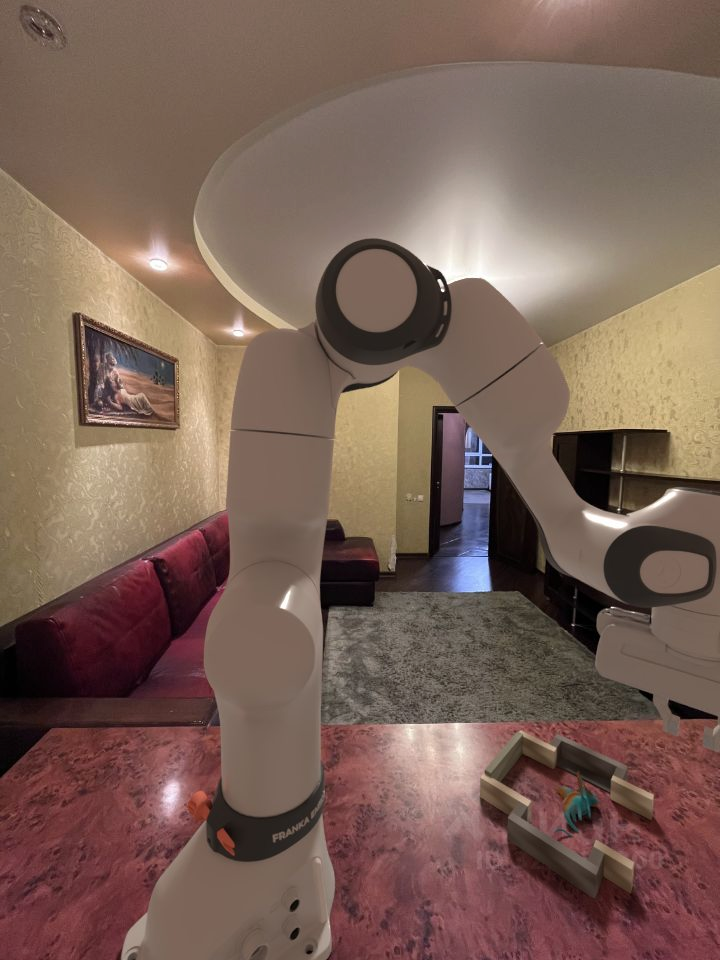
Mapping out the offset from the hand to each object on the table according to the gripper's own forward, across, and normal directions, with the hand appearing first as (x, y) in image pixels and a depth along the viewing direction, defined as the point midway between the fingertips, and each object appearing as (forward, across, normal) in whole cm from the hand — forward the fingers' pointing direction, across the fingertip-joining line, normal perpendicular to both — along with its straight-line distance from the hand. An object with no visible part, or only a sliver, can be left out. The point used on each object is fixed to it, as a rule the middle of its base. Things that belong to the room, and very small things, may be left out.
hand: (690, 739), depth 48 cm
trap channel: (+17, -14, 0) cm, 22 cm away
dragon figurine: (+18, -12, 0) cm, 22 cm away
